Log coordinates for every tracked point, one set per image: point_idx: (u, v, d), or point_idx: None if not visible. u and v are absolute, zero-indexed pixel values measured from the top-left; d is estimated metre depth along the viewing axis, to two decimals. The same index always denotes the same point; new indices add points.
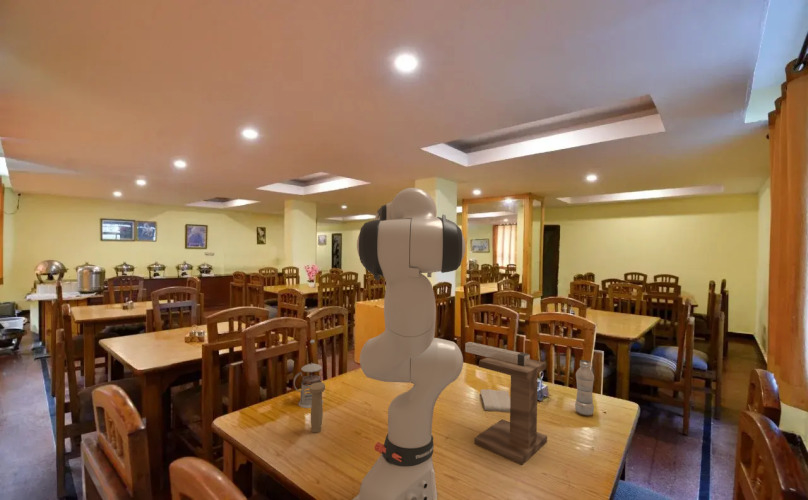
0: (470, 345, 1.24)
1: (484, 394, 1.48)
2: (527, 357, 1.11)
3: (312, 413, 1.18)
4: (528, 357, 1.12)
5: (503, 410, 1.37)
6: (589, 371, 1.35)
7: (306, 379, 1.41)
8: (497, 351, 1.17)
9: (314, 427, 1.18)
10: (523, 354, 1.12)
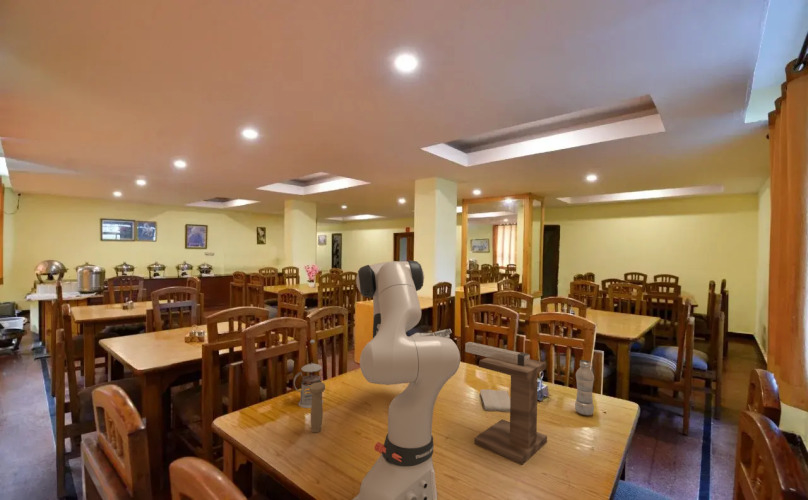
0: (470, 345, 1.24)
1: (484, 394, 1.48)
2: (527, 357, 1.11)
3: (312, 413, 1.18)
4: (528, 357, 1.12)
5: (503, 410, 1.37)
6: (589, 371, 1.35)
7: (306, 379, 1.41)
8: (497, 351, 1.17)
9: (314, 427, 1.18)
10: (523, 354, 1.12)
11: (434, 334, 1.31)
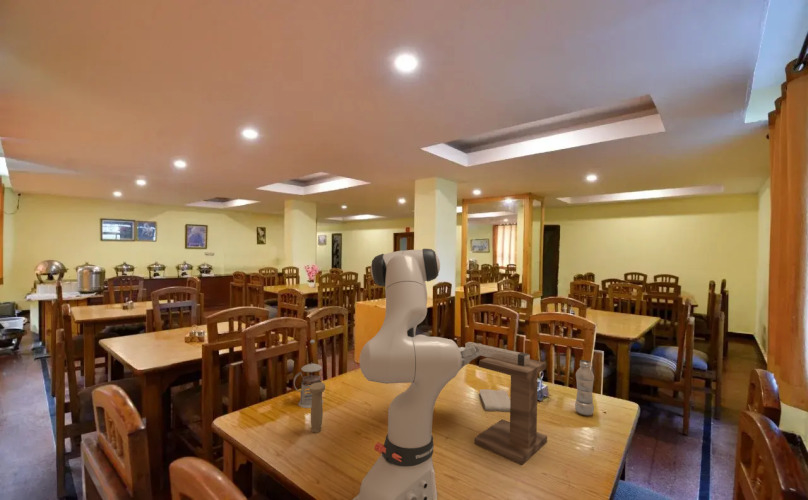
0: (470, 345, 1.24)
1: (483, 394, 1.47)
2: (527, 357, 1.11)
3: (312, 413, 1.18)
4: (528, 357, 1.12)
5: (503, 410, 1.37)
6: (589, 371, 1.35)
7: (306, 379, 1.41)
8: (497, 351, 1.17)
9: (314, 427, 1.18)
10: (523, 354, 1.12)
11: (475, 349, 1.21)
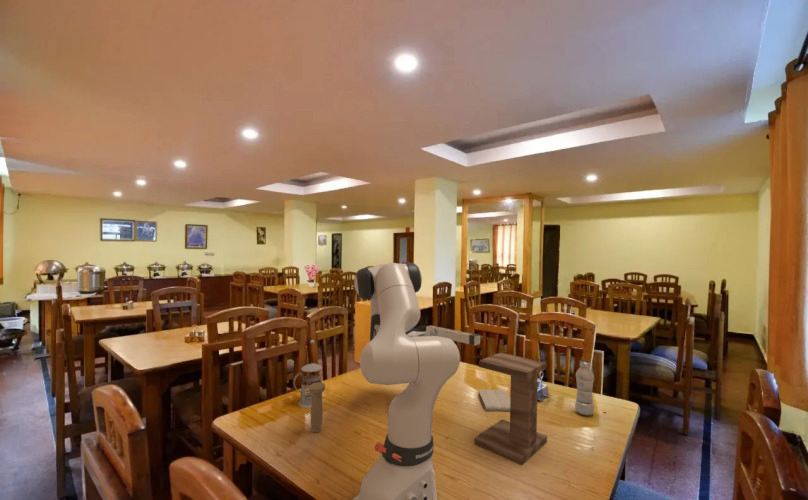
0: (430, 328, 1.36)
1: (483, 394, 1.47)
2: (477, 337, 1.23)
3: (312, 413, 1.18)
4: (478, 337, 1.24)
5: (504, 410, 1.37)
6: (589, 371, 1.35)
7: (306, 379, 1.41)
8: (452, 333, 1.29)
9: (314, 427, 1.18)
10: (474, 335, 1.24)
11: (434, 331, 1.34)
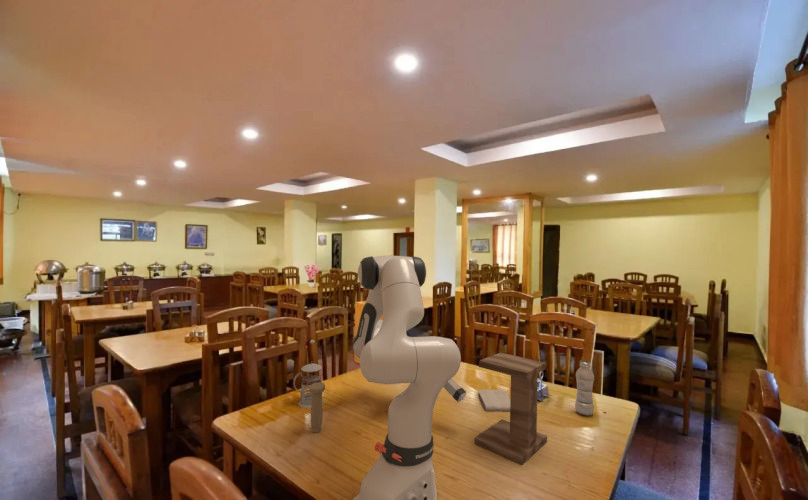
0: None
1: (483, 394, 1.47)
2: (463, 395, 1.20)
3: (312, 413, 1.18)
4: (464, 395, 1.21)
5: (504, 410, 1.37)
6: (589, 371, 1.35)
7: (306, 379, 1.41)
8: None
9: (314, 427, 1.18)
10: (461, 391, 1.21)
11: None
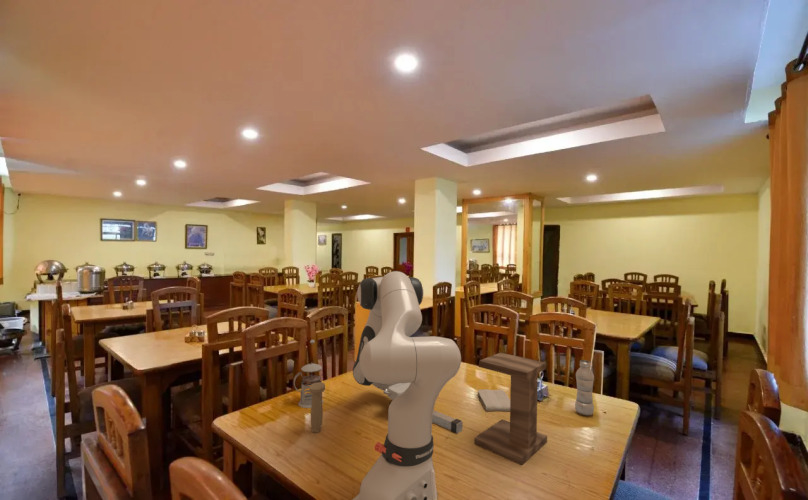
0: None
1: (483, 394, 1.47)
2: (459, 424, 1.21)
3: (312, 413, 1.18)
4: (461, 424, 1.21)
5: (504, 410, 1.37)
6: (589, 371, 1.35)
7: (306, 379, 1.41)
8: (435, 416, 1.26)
9: (314, 427, 1.18)
10: (456, 421, 1.21)
11: None
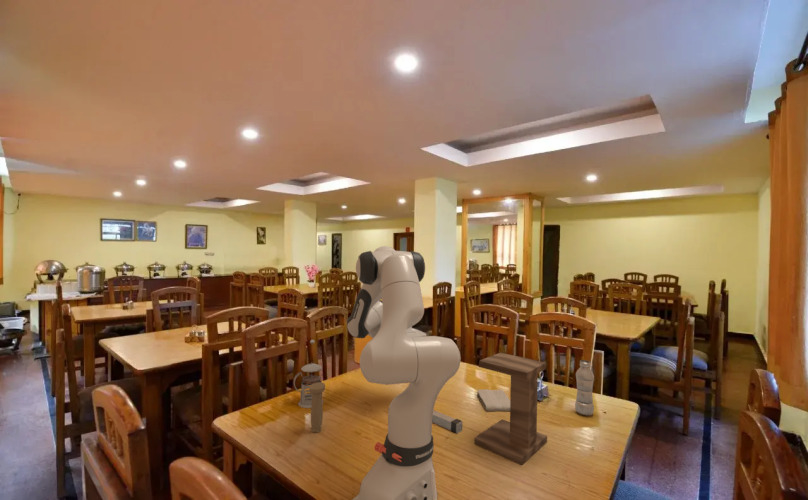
0: None
1: (482, 394, 1.47)
2: (459, 424, 1.21)
3: (312, 413, 1.18)
4: (460, 424, 1.21)
5: (504, 410, 1.37)
6: (589, 371, 1.35)
7: (306, 379, 1.41)
8: (435, 416, 1.26)
9: (314, 427, 1.18)
10: (456, 421, 1.21)
11: None
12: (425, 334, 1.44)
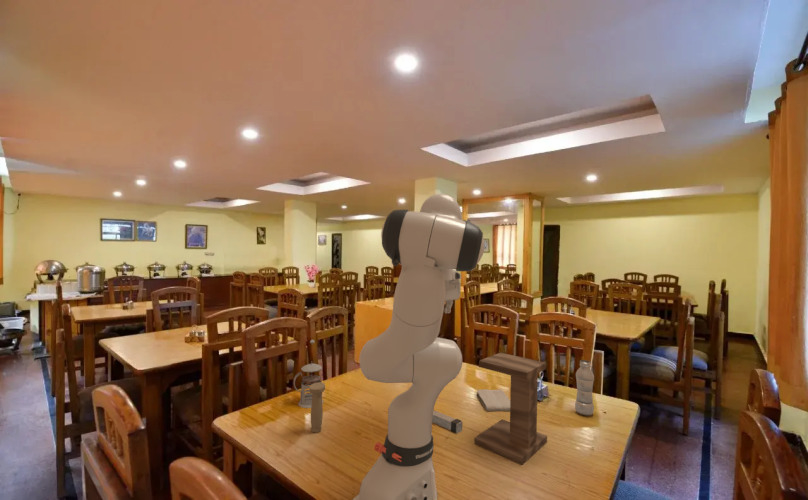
0: None
1: (482, 394, 1.47)
2: (459, 424, 1.21)
3: (312, 413, 1.18)
4: (460, 424, 1.21)
5: (504, 410, 1.37)
6: (589, 371, 1.35)
7: (306, 379, 1.41)
8: (435, 416, 1.26)
9: (314, 427, 1.18)
10: (456, 421, 1.21)
11: None
12: (458, 298, 1.29)
